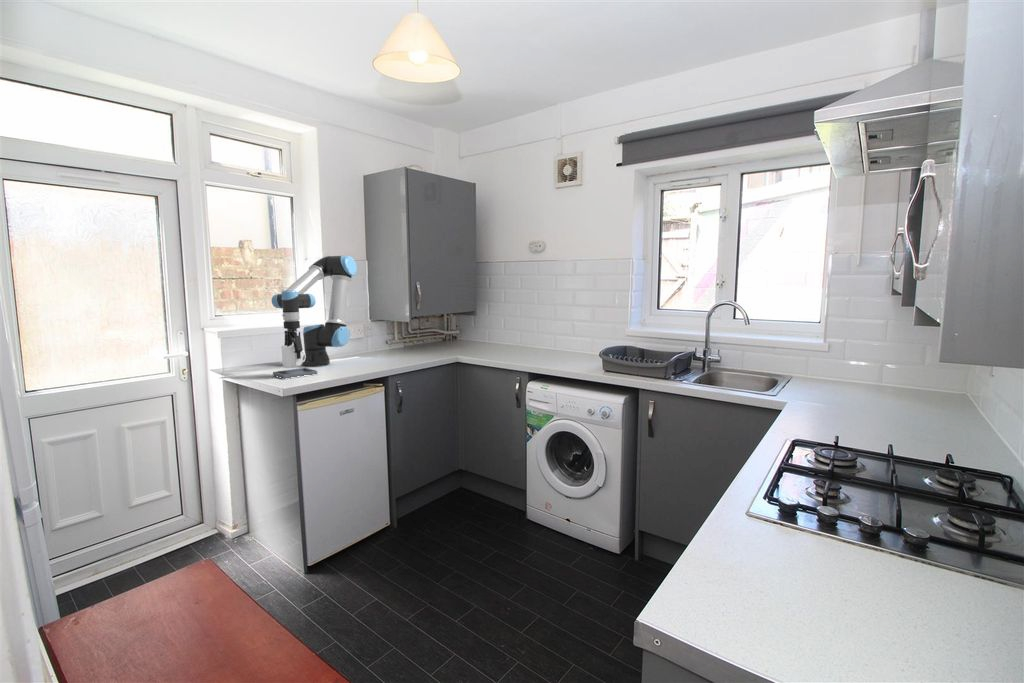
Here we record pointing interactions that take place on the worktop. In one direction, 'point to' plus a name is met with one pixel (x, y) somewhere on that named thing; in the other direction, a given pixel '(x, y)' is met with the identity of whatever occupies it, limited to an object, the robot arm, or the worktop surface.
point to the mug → (289, 356)
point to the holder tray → (294, 372)
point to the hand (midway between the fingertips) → (294, 363)
